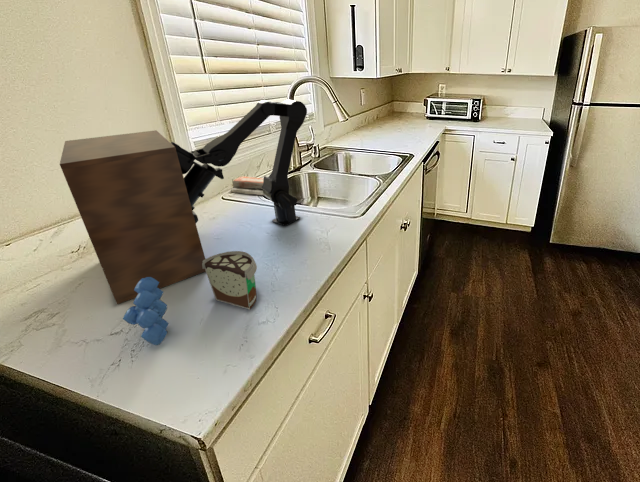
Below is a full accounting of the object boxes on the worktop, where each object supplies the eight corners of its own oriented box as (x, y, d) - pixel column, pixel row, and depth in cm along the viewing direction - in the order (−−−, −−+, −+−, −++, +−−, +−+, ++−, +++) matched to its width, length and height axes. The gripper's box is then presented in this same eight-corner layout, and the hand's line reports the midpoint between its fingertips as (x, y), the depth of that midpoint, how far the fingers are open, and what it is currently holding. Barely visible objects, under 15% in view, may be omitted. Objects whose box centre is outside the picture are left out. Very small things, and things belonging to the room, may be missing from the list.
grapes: (137, 323, 66) (117, 273, 61) (176, 310, 69) (160, 262, 64) (127, 366, 56) (104, 311, 52) (174, 349, 59) (155, 296, 55)
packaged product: (227, 181, 130) (244, 173, 139) (229, 192, 131) (246, 184, 140) (266, 184, 125) (281, 176, 134) (268, 196, 127) (283, 187, 136)
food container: (275, 292, 74) (268, 255, 70) (255, 311, 68) (246, 271, 65) (232, 282, 78) (223, 245, 74) (210, 298, 72) (200, 260, 69)
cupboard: (185, 233, 100) (156, 130, 88) (208, 270, 82) (175, 146, 70) (110, 256, 89) (64, 141, 77) (117, 304, 71) (59, 164, 59)
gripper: (157, 160, 87) (117, 209, 84) (169, 177, 74) (123, 236, 71) (197, 181, 95) (162, 226, 92) (214, 199, 82) (175, 253, 79)
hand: (156, 234), depth 83 cm, fingers open, 9 cm apart
